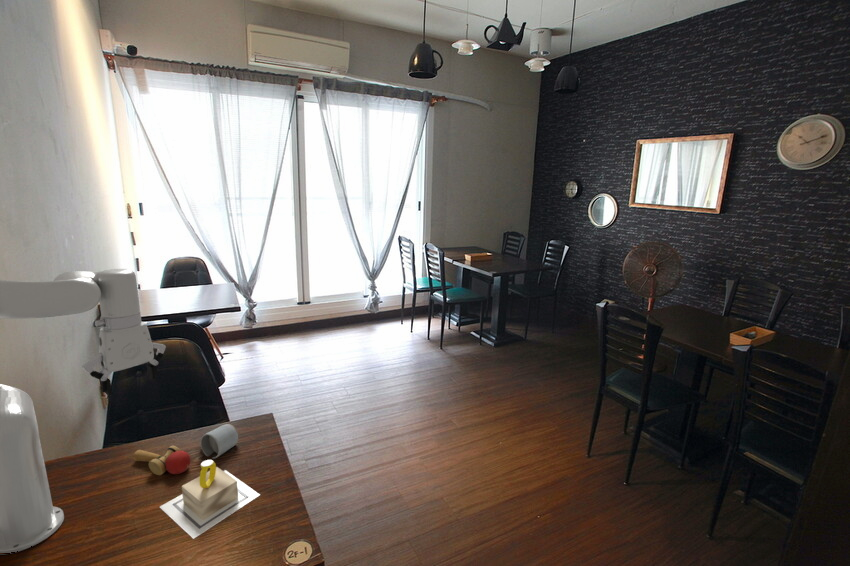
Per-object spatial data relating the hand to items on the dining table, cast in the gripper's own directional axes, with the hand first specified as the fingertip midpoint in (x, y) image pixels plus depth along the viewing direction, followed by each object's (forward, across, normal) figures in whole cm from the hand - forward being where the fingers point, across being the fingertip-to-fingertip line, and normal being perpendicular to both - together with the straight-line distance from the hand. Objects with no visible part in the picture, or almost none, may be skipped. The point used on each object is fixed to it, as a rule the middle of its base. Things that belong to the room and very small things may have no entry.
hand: (130, 386), depth 102 cm
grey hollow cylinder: (+29, +19, -1) cm, 35 cm away
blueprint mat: (+28, +7, -20) cm, 35 cm away
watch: (+23, +7, -20) cm, 31 cm away
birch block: (+28, +7, -20) cm, 35 cm away
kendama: (+29, +6, +4) cm, 30 cm away
